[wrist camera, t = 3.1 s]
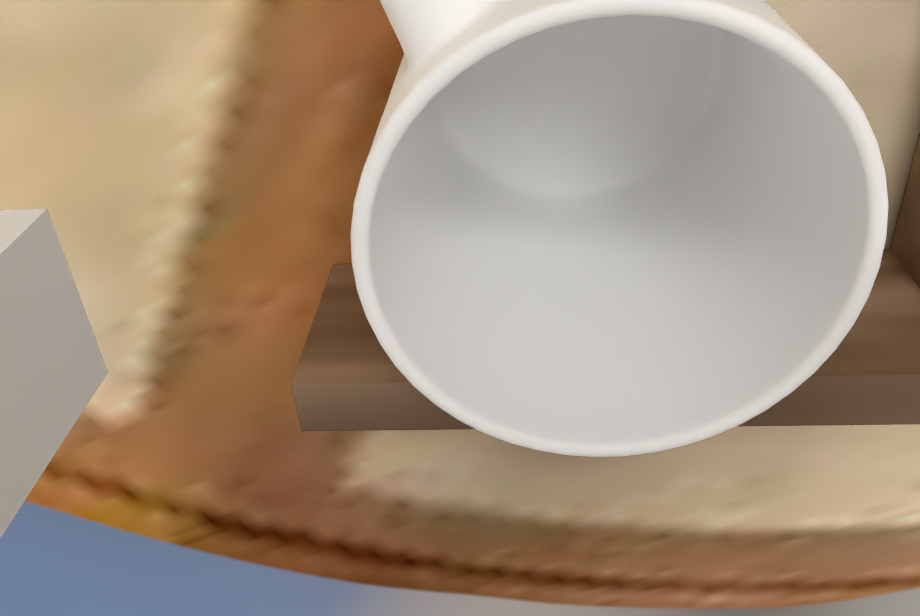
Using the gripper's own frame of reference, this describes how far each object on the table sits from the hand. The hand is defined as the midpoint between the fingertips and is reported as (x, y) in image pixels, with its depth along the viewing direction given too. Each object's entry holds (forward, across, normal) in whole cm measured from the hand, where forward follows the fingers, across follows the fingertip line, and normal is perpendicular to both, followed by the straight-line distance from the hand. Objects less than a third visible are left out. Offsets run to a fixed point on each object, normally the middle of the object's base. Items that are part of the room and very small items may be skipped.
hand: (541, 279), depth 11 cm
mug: (+13, 0, 0) cm, 13 cm away
